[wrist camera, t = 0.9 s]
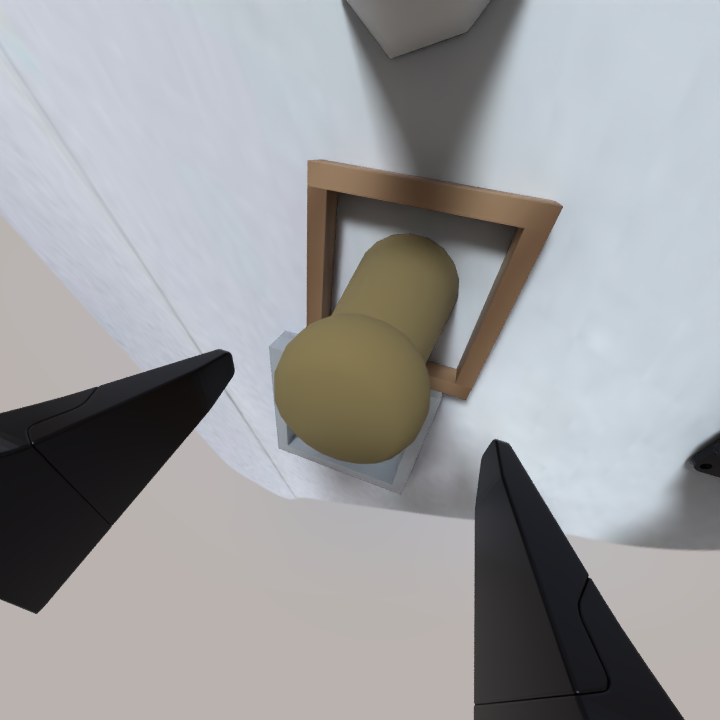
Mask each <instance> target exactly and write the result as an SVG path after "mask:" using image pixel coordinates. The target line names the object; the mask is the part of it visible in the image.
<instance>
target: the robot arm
mask: <svg viewBox="0 0 720 720" xmlns="http://www.w3.org/2000/svg"><path fill="white" fill-rule="evenodd" d="M234 372H235V368H234V363H233V358H232V354H231V353H230V352H228V351H225V350H222V349H217V350H214V351H211V352H208V353H204V354H201V355H198V356H195V357H191V358H188V359H185V360H182V361H178V362H175V363H172V364H169V365H165V366H162V367H159V368H156V369H152V370H149V371H146V372H143V373H140V374H136V375H133V376H130V377H126V378H123V379H120V380H117V381H114V382H110V383H107V384H104V385H101V386H99V387H94V388H91V389H88V390H84V391H81V392H78V393H75V394H71V395H67V396H64V397H61V398H57V399H54V400H50V401H46V402H42V403H39V404H34V405H31V406H27V407H23V408H19V409H15V410H11V411H7V412H3V413H0V599H1V600H3V601H6V602H8V603H11V604H13V605H16V606H18V607H20V608H23V609H25V610H28V611H30V612H33V613H35V614H37V613H38V612H39V611H40V610H41V609H42V608H43V607H44V606H45V605H46V604H47V603H48V602H49V600H50V599H51V598H52V597H53V596H54V594H55V593H56V592H57V591H58V590H59V588H60V587H61V586H62V585H63V584H64V582H65V581H66V580H67V579H68V578H69V577H70V575H71V574H72V573H73V572H74V571H75V570H76V568H77V567H78V566H79V565H80V563H81V562H82V561H83V560H84V559H85V558H86V556H87V555H88V554H89V553H90V552H91V551H92V549H93V548H94V547H95V546H96V544H97V543H98V542H99V541H100V540H101V539H102V537H103V536H104V535H105V534H106V533H107V532H108V530H109V529H110V528H111V527H112V525H113V524H114V523H115V522H116V521H117V520H118V518H119V517H120V516H121V515H122V514H123V512H124V511H125V510H126V509H127V508H128V507H129V505H130V504H131V503H132V502H133V500H134V499H135V498H136V497H137V496H138V495H139V494H140V492H141V491H142V490H143V489H144V488H145V486H146V485H147V484H148V483H149V482H150V481H151V479H152V478H153V477H154V476H155V475H156V473H157V472H158V471H159V470H160V469H161V467H162V466H163V465H164V464H165V463H166V462H167V460H168V459H169V458H170V457H171V456H172V454H173V453H174V452H175V451H176V450H177V449H178V447H179V446H180V445H181V444H182V443H183V441H184V440H185V439H186V438H187V437H188V436H189V434H190V433H191V432H192V431H193V430H194V428H195V427H196V426H197V425H198V424H199V423H200V421H201V420H202V419H203V418H204V417H205V415H206V414H207V413H208V412H209V410H210V409H211V408H212V406H213V405H214V404H215V402H216V401H217V399H218V398H219V396H220V395H221V393H222V392H223V390H224V389H225V387H226V386H227V384H228V383H229V382H230V380H231V379H232V377H233V375H234ZM690 463H691V464H692V466H693V467H694V468H695V470H697V471H700V472H703V473H706V474H710V475H713V476H716V477H720V439H719V440H718V441H716V442H715V443H713V444H712V445H710V446H709V447H707V448H706V449H704V450H703V451H701V452H700V453H698V454H697V455H695V456H694V457H693V458H691V460H690ZM588 576H589V575H588V573H587V571H586V570H585V568H584V566H583V564H582V563H581V561H580V559H579V558H578V556H577V555H576V553H575V551H574V550H573V548H572V546H571V545H570V543H569V541H568V540H567V538H566V536H565V535H564V533H563V531H562V530H561V528H560V526H559V525H558V523H557V521H556V520H555V518H554V517H553V515H552V513H551V512H550V510H549V508H548V507H547V505H546V503H545V502H544V500H543V498H542V497H541V495H540V493H539V492H538V490H537V488H536V487H535V485H534V483H533V482H532V480H531V479H530V477H529V475H528V474H527V472H526V470H525V469H524V467H523V465H522V464H521V462H520V460H519V459H518V457H517V455H516V454H515V452H514V450H513V449H512V447H511V446H510V444H509V443H507V442H504V441H501V440H498V439H494V440H493V441H492V442H491V443H490V445H489V446H488V448H487V449H486V451H485V452H484V454H483V456H482V459H481V466H480V474H479V482H478V489H477V497H476V506H475V620H474V621H475V622H474V623H475V624H474V627H475V628H474V629H475V630H474V634H475V635H474V638H475V639H474V641H475V642H474V703H475V706H474V720H684V718H683V717H682V715H681V714H680V712H679V711H678V709H677V708H676V707H675V705H674V704H673V702H672V701H671V699H670V698H669V697H668V695H667V694H666V692H665V691H664V689H663V688H662V686H661V685H660V684H659V682H658V681H657V679H656V678H655V676H654V675H653V673H652V672H651V670H650V669H649V668H648V666H647V665H646V663H645V662H644V660H643V659H642V657H641V656H640V654H639V653H638V652H637V650H636V648H635V647H634V645H633V644H632V643H631V641H630V639H629V638H628V636H627V635H626V633H625V632H624V631H623V629H622V628H621V626H620V624H619V623H618V621H617V620H616V618H615V616H614V615H613V613H612V612H611V610H610V608H609V607H608V605H607V604H606V602H605V601H604V599H603V597H602V596H601V594H600V592H599V591H598V589H597V587H596V586H595V584H594V582H593V581H592V579H591V578H588Z"/></svg>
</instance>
